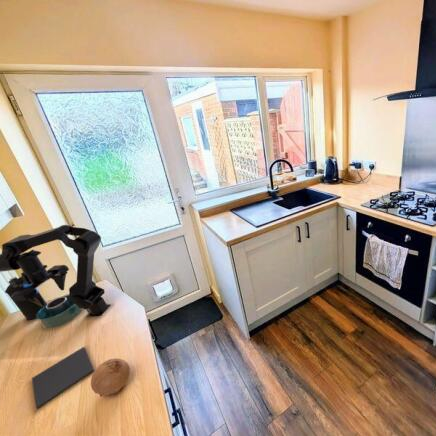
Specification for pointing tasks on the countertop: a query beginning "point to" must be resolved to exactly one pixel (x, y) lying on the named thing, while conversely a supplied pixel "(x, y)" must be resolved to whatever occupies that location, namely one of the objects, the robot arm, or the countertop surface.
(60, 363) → the trivet
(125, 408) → the countertop surface
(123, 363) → the brown coconut
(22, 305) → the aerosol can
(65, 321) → the teal bowl
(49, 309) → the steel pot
